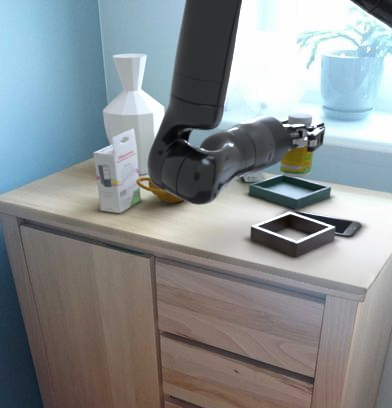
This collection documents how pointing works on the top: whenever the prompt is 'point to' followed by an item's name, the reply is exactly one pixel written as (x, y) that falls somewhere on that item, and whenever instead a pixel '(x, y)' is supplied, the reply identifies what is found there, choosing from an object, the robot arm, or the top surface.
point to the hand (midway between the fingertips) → (306, 126)
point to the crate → (294, 248)
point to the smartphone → (334, 223)
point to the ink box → (118, 174)
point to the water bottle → (158, 191)
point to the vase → (133, 108)
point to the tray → (289, 191)
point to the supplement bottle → (297, 151)
